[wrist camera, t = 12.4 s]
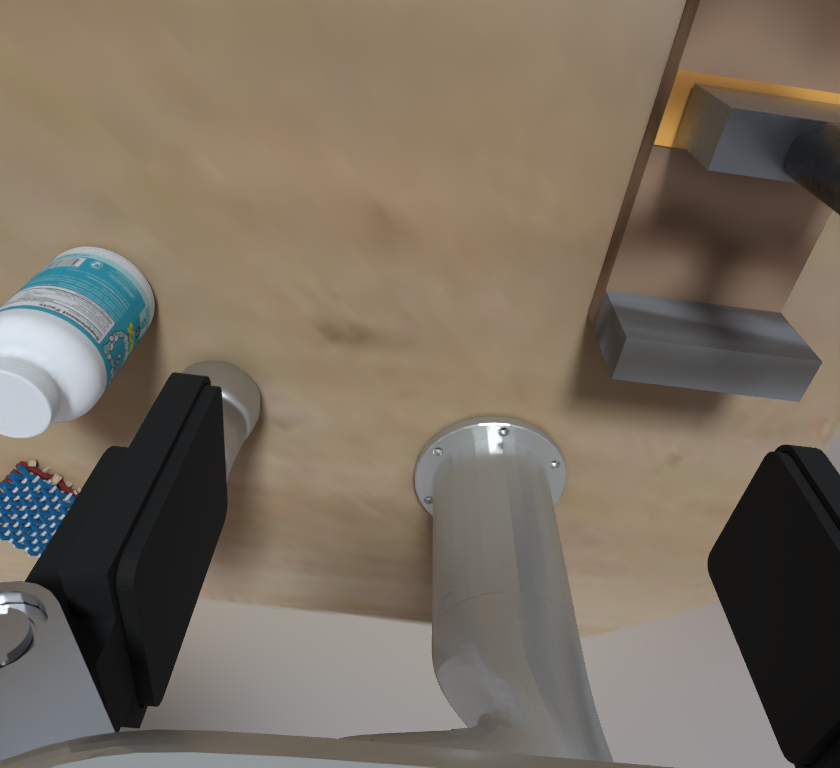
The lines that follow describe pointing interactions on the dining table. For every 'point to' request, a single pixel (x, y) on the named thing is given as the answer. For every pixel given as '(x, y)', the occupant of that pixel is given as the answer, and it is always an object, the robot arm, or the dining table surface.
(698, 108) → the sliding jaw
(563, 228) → the dining table surface
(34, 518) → the woven mat
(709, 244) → the press base
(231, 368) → the plastic bottle
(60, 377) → the pill bottle
